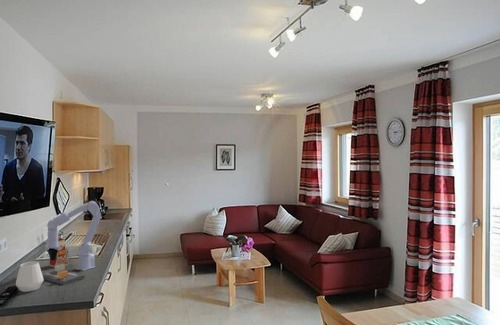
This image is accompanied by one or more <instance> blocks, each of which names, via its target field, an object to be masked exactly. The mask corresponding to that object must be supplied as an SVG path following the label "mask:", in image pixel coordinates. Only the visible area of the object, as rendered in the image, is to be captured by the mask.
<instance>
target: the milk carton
mask: <svg viewBox="0 0 500 325" xmlns="http://www.w3.org/2000/svg"><path fill="white" fill-rule="evenodd" d="M61 237H62V236H58V245H59V246H60V247H61V250H59V251H58V253H57V255H56V259H55V260H53V261H51V259H50V258H49V262H48V264H49V265H48V266H49V267H53V268H54V269H55V265H58V264H62V263H63V264H65V266H69V265H70V263H69V259H68V253H67V252H68V251H67V247H66V240H65V239H64V238H61ZM68 264H69V265H68Z"/></svg>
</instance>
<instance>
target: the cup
mask: <svg viewBox="0 0 500 325" xmlns="http://www.w3.org/2000/svg"><path fill="white" fill-rule="evenodd" d="M42 273H43V272H42V269H41V266H40V263H39V261H27V262H24V263H21V264H20V265H19V269H18V273H17V277H16V280H15V286H16V288H17V289H19V291H20V292H23V293H26V292H28V293H29V292H32V291H36V290H39V289H40V288H41V286H42V284H43V283H44V280H45V279H43V275H42Z"/></svg>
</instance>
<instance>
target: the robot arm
mask: <svg viewBox="0 0 500 325" xmlns="http://www.w3.org/2000/svg"><path fill="white" fill-rule="evenodd" d="M88 211H89V212H90V213H91V215H92V219H91V221H90V224H89V226H88V228H87V232H86V234H85V237H84V239H83V241H82V243H81V244H80V245H79V247H78V253H79V254H78V257H77V258H78V260H77V261H78V262H77V263H78V266H77V267H75V270H78V271H82V272H84V271H88V270H91V269H94V268H96V266H95V261H96V260H95V255H94V253H91V252H90V251H91V248H90V247H91V245H92V241H93V238H94V237H95V233H96V231H97V229H98V226H99V223H100V221H101V219H102V213H101V209H100V206H99V205H98V203H97V202H96V201H94V200H90V201H88V202H85V203H83V204H82V205H80V206H78V207H77V208H74V209H73V210H70V212H64V213H63V212H62V213H60V215H58V216H56V217H53V218H52V219H50V220H49V221H48V222H47V226H46V227H47V244H44V248H46V252H47V253H48V255H49V260H50V259H51V261H53V260H55V259H56V255H57V253H58V251H59V250H61V247H60V246H59V245H58V237H59V231H58V227H61V226H62V225H64V224H65V223H67V222H69V221H70V219H71V218H72V217H74V216H76V215H78V214H80V213H82V212H88Z"/></svg>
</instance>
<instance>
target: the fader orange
mask: <svg viewBox="0 0 500 325" xmlns="http://www.w3.org/2000/svg"><path fill="white" fill-rule="evenodd" d="M68 271H69V270H67V269H65V270H63V271H59V272H57V278H59V279H62V278H65V277H68Z"/></svg>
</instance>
